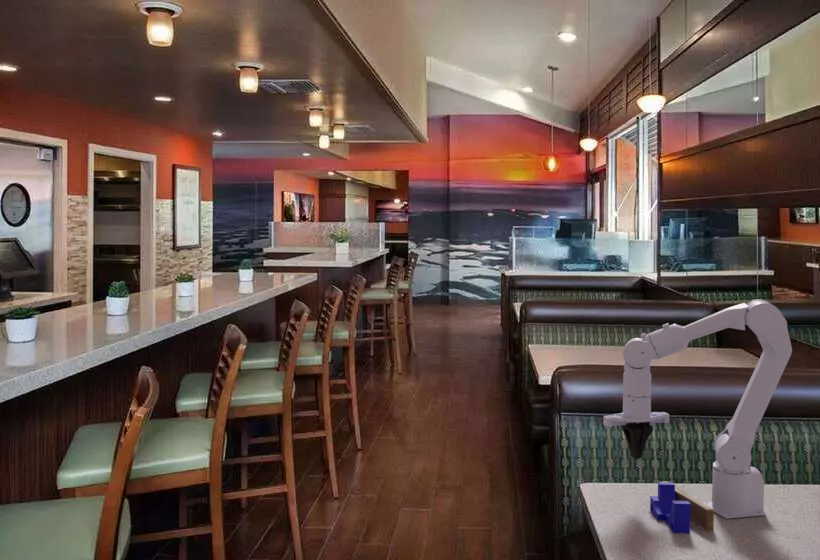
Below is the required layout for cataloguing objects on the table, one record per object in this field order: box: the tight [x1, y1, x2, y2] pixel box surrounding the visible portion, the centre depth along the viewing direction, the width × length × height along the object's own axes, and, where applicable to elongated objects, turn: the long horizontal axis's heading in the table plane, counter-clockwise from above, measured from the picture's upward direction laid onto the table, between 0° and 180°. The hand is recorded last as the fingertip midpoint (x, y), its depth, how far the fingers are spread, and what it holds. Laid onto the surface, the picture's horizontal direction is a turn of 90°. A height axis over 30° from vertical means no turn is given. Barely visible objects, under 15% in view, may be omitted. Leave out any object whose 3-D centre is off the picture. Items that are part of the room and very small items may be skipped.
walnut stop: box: [663, 480, 715, 532], centre depth 146 cm, size 2×16×4 cm, turn 13°
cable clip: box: [649, 481, 691, 534], centre depth 144 cm, size 12×4×6 cm, turn 175°
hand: (635, 457), depth 154 cm, fingers closed
